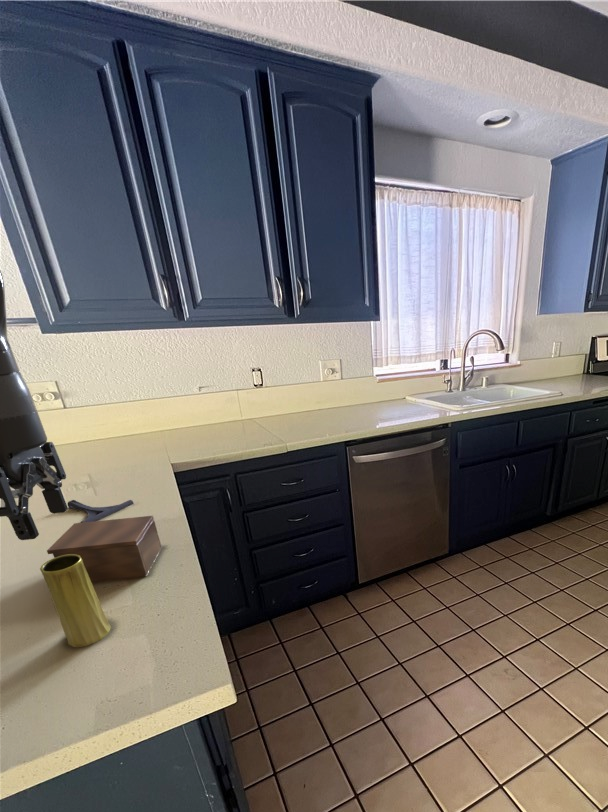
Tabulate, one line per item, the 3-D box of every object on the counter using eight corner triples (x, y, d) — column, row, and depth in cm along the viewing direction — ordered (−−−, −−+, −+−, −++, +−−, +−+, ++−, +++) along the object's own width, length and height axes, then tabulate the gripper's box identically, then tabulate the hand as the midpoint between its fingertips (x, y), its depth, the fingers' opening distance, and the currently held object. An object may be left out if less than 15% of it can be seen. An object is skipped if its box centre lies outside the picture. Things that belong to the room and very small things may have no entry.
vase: (97, 620, 74) (69, 549, 68) (119, 630, 72) (93, 557, 65) (60, 642, 69) (27, 568, 63) (83, 654, 67) (51, 578, 60)
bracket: (95, 499, 123) (92, 490, 122) (134, 505, 118) (131, 496, 117) (45, 520, 111) (41, 510, 110) (86, 528, 106) (82, 518, 105)
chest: (66, 588, 83) (52, 553, 80) (91, 557, 93) (79, 526, 90) (147, 578, 85) (137, 544, 82) (162, 550, 96) (153, 519, 92)
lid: (48, 554, 79) (46, 550, 79) (75, 526, 90) (74, 523, 89) (137, 544, 82) (135, 541, 82) (153, 518, 92) (152, 515, 92)
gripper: (-1, 403, 60) (41, 507, 67) (-77, 426, 48) (-16, 552, 54) (58, 399, 61) (94, 502, 68) (-1, 422, 49) (49, 545, 56)
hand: (45, 524), depth 61 cm, fingers open, 8 cm apart
